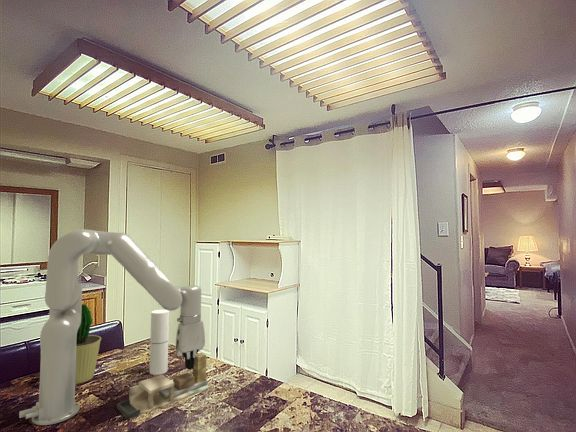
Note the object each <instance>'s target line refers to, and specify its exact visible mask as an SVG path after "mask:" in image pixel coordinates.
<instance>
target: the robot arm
mask: <svg viewBox="0 0 576 432" xmlns="http://www.w3.org/2000/svg"><path fill="white" fill-rule="evenodd" d="M86 254H96V255H108V256H109V255H110V256H112V257H113V258H114V259H115V260H116V261H117V263H119V264H120V265H121V266H122V267H123V268H124V269H125V271H126V272H127V273H129V275H130V276H131V277H133V279H134V280H135V281H136V283H138V284H139V285H140V286H141V287H142V288H143V289H144V290H145V291H146V292H147V293H148V294H149V295H150V296H151V297H152V298H153V299H154V300H155V301H156V302H157V303H158V305H160V307H161V308H162V309H163V310H169V312H172V311H176V310H177V309H180V315H179V317H177V319H176V321H177V323H178V322H179V323H178V324H177V329H176V334H175V336H176V337H175V349H176V351H175V352H176V353H175V355H176V356H177V357H183V358H184V367H185V369H186V370H189V371H190V370H193V369H194V358H195V357H196V354H199V352H200V351H202V350H203V349H204V347H205V346H206V345H205V344H206V335H205V326H204V322H203V320H202V288H201V286H200V285H195V284H194V285H183V286H179V285H173V283H172V282H171V281H170V280H169V279H168V278H167V277H166V276H165V275H164V273H163V272H162V270H160V268H159V266H158V265H157V264H156V263H155V261H154V260H153V259H152V258H151V257H150V256H149V255H148V254H147V253H146V252H145V251H144V250H143V249H142V248H141V246H140V245H138V244H137V242H136V241H135V240H134V239H133V238H132V237H131V236H130V235H129V234H127V233H124V232H115V231H114V232H112V231H111V232H110V231H105V230H104V231H103V230H102V231H101V230H95V229H87V228H78V229H75V230H72V231H70V232H67V233H65V234H63V235H62V236H60V237H59V238H57V240H56V241H55V242H54V243H53V244H52V246H51V248H50V250H49V252H48V257H47V268H46V276H45V278H46V280H45V292H44V302H45V304H46V306H47V307H48V308H49V313H48V314H49V317H48V318H49V319H48V320H46V322H45V323H44V325H43V326H42V327H41V331H40V336H39V337H40V338H39V343H40V346H39V347H40V366H39V367H40V368H39V369H40V371H39V373H40V374H39V387H38V388H39V389H38V390H39V392H38V393H39V394H38V402H37V401H36V403H35V405H34V406H32V407H31V408H28V409H24V410H19V414H18V416H19V417H18V418H19V419H21V418H25V420H28V419H30V418H31V422H32V424H34V425H37V426H48V425H49V426H50V425H54V424H59V423H61V422H66V421H67V420H69V419H71V418H72V417H74V416H75V415H76V414H78V413H79V411H80V409H81V406H80V403H79V402H77V401H75V400H76V399H75V397H76V396H75V395H76V384H75V377H76V338H77V331H78V329H79V327H80V324H81V311H82V304H83V288H82V285H81V283H80V282H79V281H78V274H79V260H80V258H81V257H82V256H83V255H86Z"/></svg>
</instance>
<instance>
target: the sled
mask: <svg viewBox="0 0 576 432" xmlns="http://www.w3.org/2000/svg"><path fill="white" fill-rule="evenodd" d="M172 381H173V382H174V396H176V395H179V394H182V393H184V392H187V391H190V390H193V389H195V388H198V387H201V386H204V385H206V384H207V385H208V384H209V382H208V380H207V354H205V353H203V352H200V353H199V352H198V353H197V354H196V357H195V358H194V369H192V373H189V372H186V373H182V374H180V375H179V374H178V375H177V376H176V375H175V376H173V377H172ZM159 394H160V395H162V396H163V397H164V398H166V399H168V398H169V388H166V389H163V390H160V391H159Z"/></svg>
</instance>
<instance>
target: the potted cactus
mask: <svg viewBox="0 0 576 432" xmlns="http://www.w3.org/2000/svg"><path fill="white" fill-rule="evenodd" d="M90 310H91V307H90V305H89V306H88V304H83V303H82V311H81V324H80V327H79V329H78V331H77V338H76V377H75V385H78V384H81V383H84V382H87V381H89V380H91V379H93V377H94V376H95V371H96V367H97V366H96V365H97V362H98V361H97V360H98V356H99V350H100V345H101V341H102V337H101V336H99V335H95V334H90V331H92V329H91V328H92V326H91V325H94V322H93V320H94V318H92V316H93V315H92V312H91V311H90Z"/></svg>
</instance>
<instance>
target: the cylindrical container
mask: <svg viewBox="0 0 576 432" xmlns="http://www.w3.org/2000/svg"><path fill="white" fill-rule="evenodd" d="M169 326H170V311H169V310H166V309H155V310H152V311H151V313H150V341H149V342H150V344H149V346H150V347H149V348H150V349H149V375H153V376H159V375H164V374H165V373H167V372H168V370H169V369H168V365H169V364H168V363H169V362H168V361H169V336H170V335H169V333H170V332H169Z"/></svg>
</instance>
